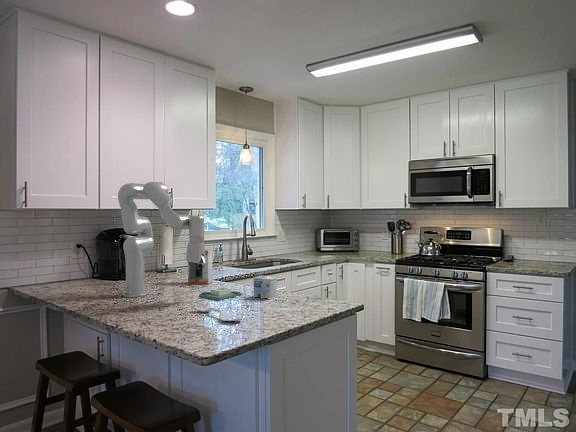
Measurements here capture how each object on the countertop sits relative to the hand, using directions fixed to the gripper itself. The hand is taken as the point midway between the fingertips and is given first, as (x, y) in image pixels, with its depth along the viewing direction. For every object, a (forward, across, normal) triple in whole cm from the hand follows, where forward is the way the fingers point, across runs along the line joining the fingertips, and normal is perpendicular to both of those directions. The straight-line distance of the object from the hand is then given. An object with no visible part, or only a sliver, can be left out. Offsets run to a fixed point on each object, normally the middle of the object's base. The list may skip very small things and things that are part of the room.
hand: (195, 275), depth 220 cm
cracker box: (+14, -36, +32) cm, 50 cm away
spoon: (+13, +31, -13) cm, 36 cm away
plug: (+2, 0, 0) cm, 2 cm away
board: (+13, +2, +15) cm, 20 cm away
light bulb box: (+12, +22, +28) cm, 38 cm away
